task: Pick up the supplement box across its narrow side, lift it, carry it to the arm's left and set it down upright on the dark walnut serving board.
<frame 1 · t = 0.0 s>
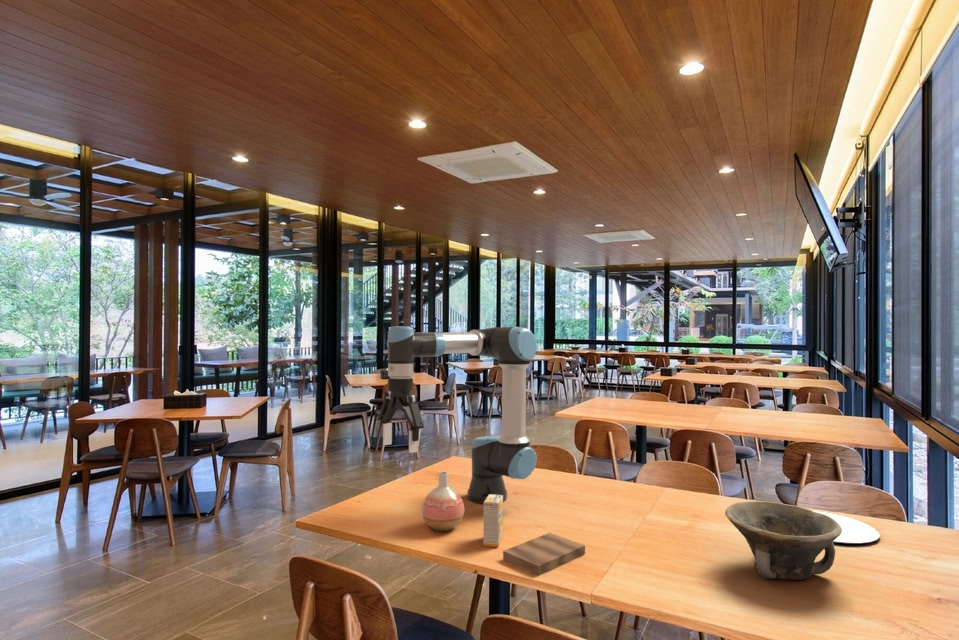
hand: (399, 448, 162), 28 cm above the table, fingers open, 13 cm apart
plate: (823, 530, 175), on the table
vase: (443, 528, 174), on the table
walnut board: (544, 557, 152), on the table
supplement box: (493, 542, 163), on the table
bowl: (781, 573, 143), on the table
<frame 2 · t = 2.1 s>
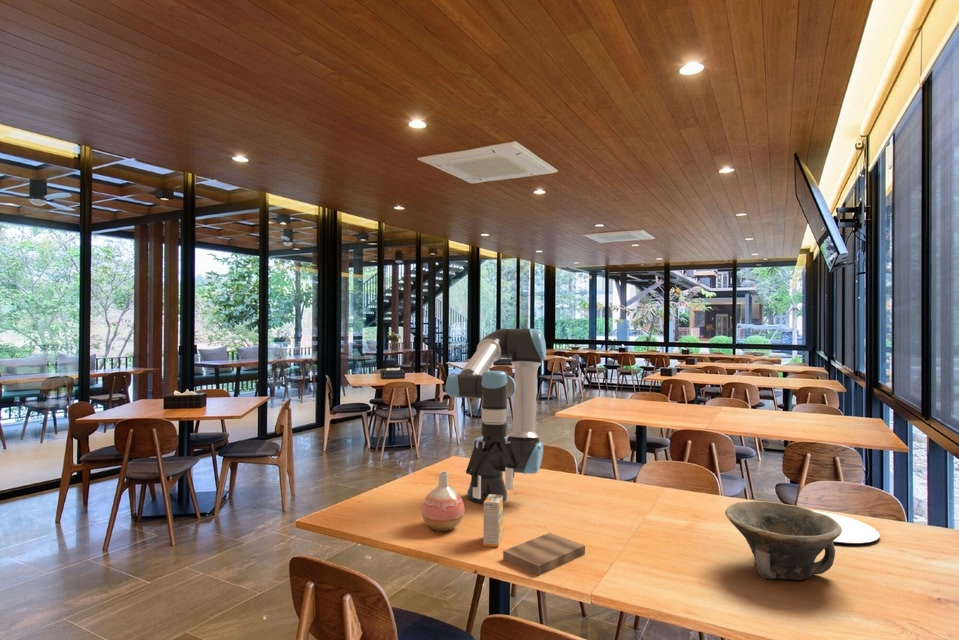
hand: (493, 493, 163), 14 cm above the table, fingers open, 13 cm apart
nothing on the table moved.
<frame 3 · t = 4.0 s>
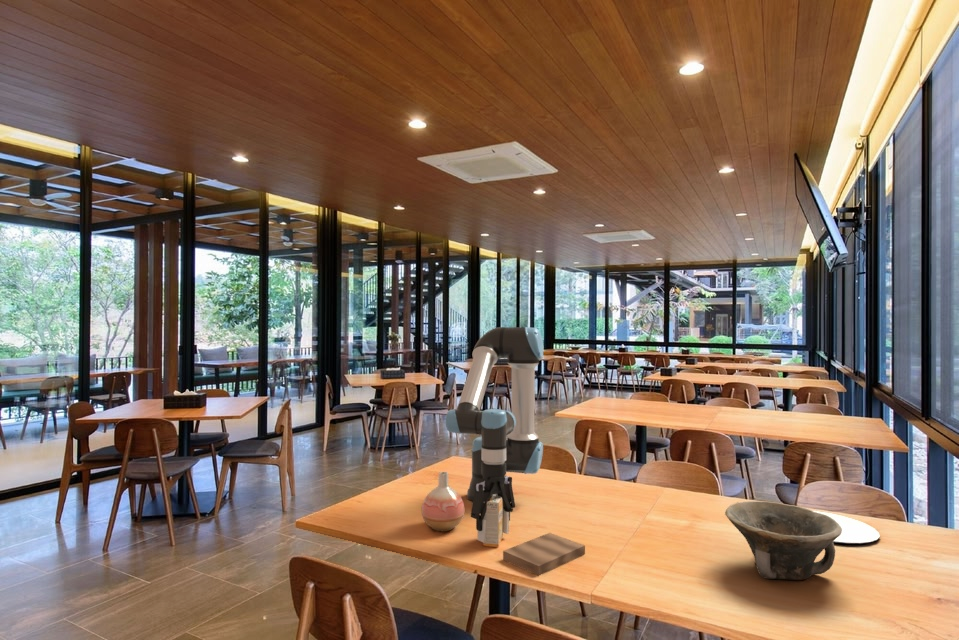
hand: (493, 536, 163), 2 cm above the table, fingers closed on supplement box, 9 cm apart
supplement box: (493, 542, 163), on the table, touching gripper
everything else where it was.
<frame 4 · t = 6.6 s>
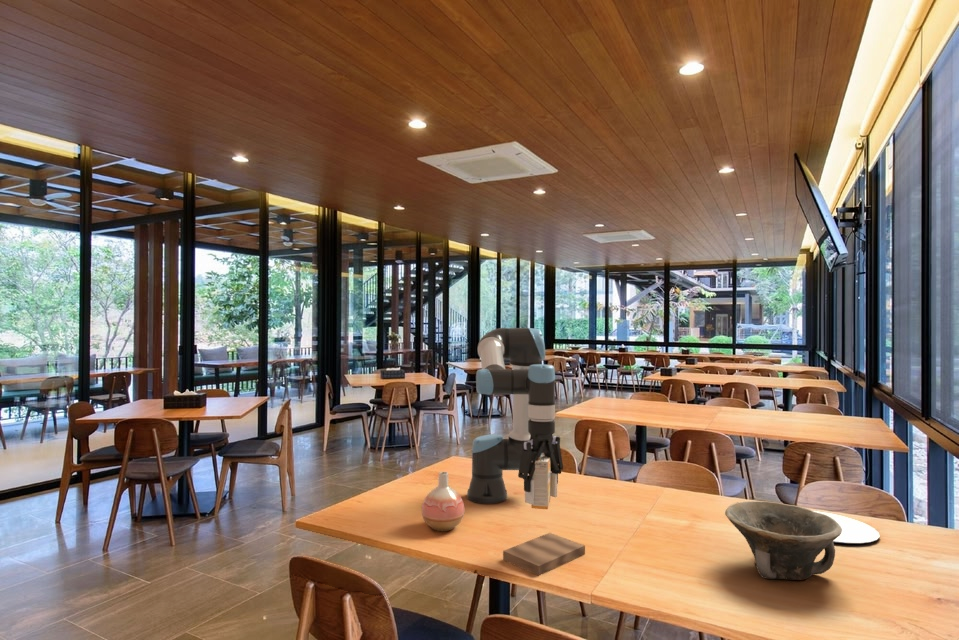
hand: (541, 499, 152), 16 cm above the table, fingers closed on supplement box, 9 cm apart
supplement box: (541, 505, 152), point 14 cm above the table, touching gripper
everything else where it was.
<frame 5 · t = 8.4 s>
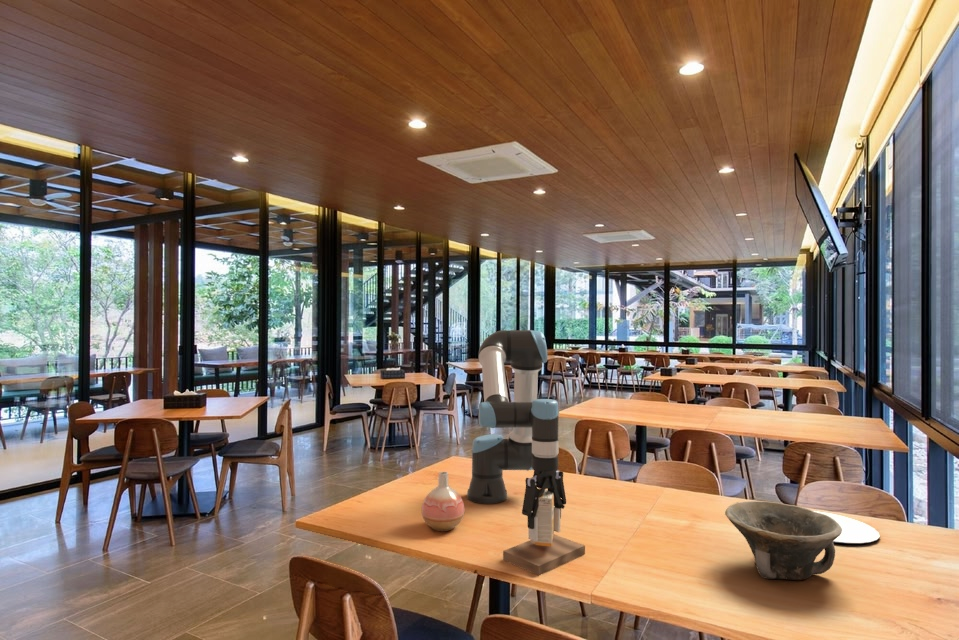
hand: (544, 535, 152), 6 cm above the table, fingers closed on supplement box, 9 cm apart
supplement box: (544, 541, 152), point 4 cm above the table, touching gripper
everything else where it was.
when the fingers open (5 cm above the table, at t = 9.4 s): supplement box drops 1 cm, resting on walnut board.
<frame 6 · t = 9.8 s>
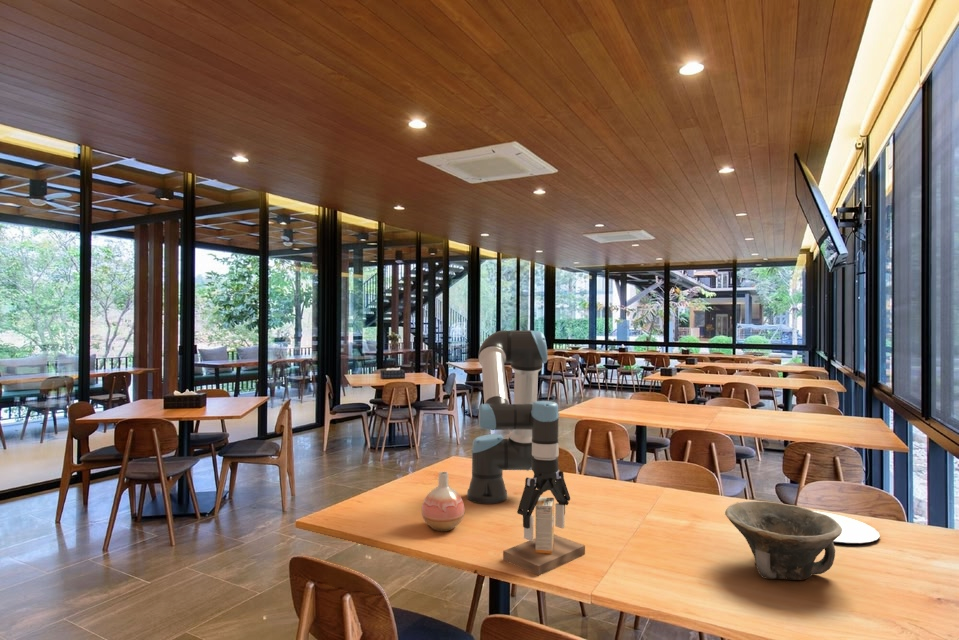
hand: (544, 533, 152), 7 cm above the table, fingers open, 13 cm apart
supplement box: (544, 548, 152), point 2 cm above the table, touching walnut board
everything else where it was.
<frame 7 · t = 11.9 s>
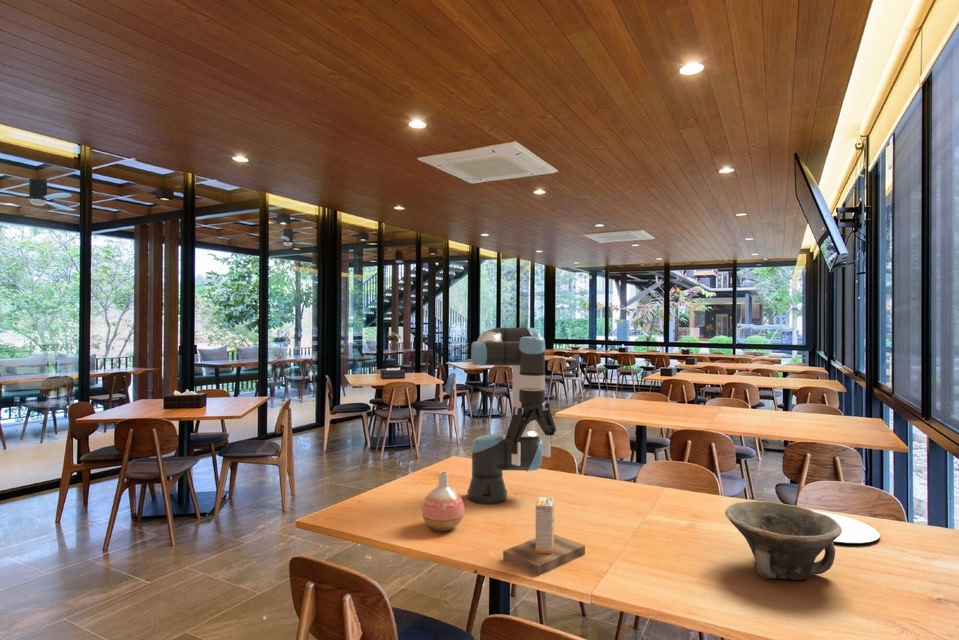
hand: (531, 460, 160), 25 cm above the table, fingers open, 13 cm apart
nothing on the table moved.
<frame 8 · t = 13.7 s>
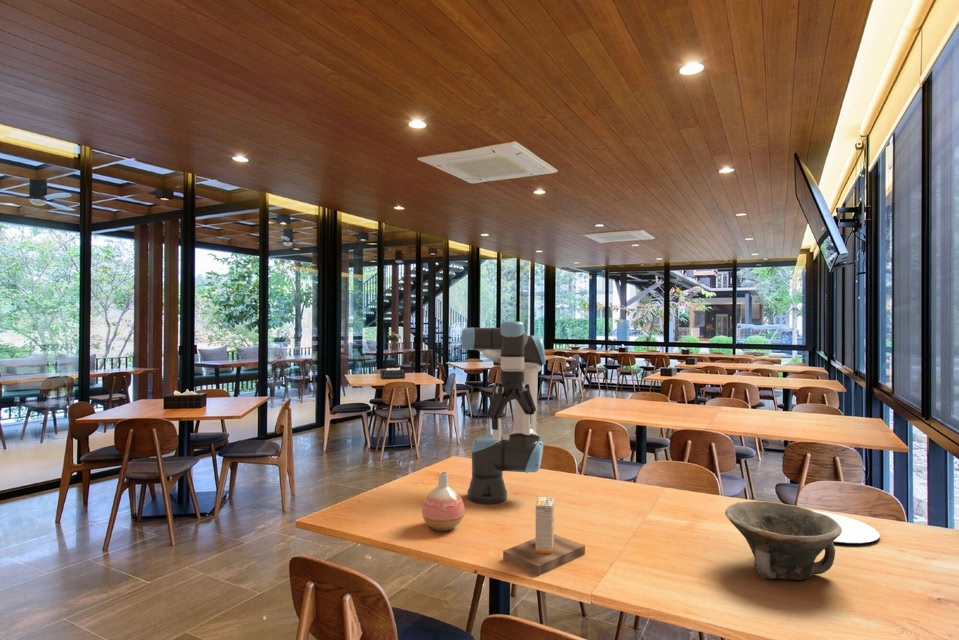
hand: (511, 437, 172), 30 cm above the table, fingers open, 13 cm apart
nothing on the table moved.
at the end: supplement box inside the target area on the walnut board (0.2 cm from its centre), point 2.3 cm above the walnut board's base; supplement box tilted 0°; the gripper is holding nothing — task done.
